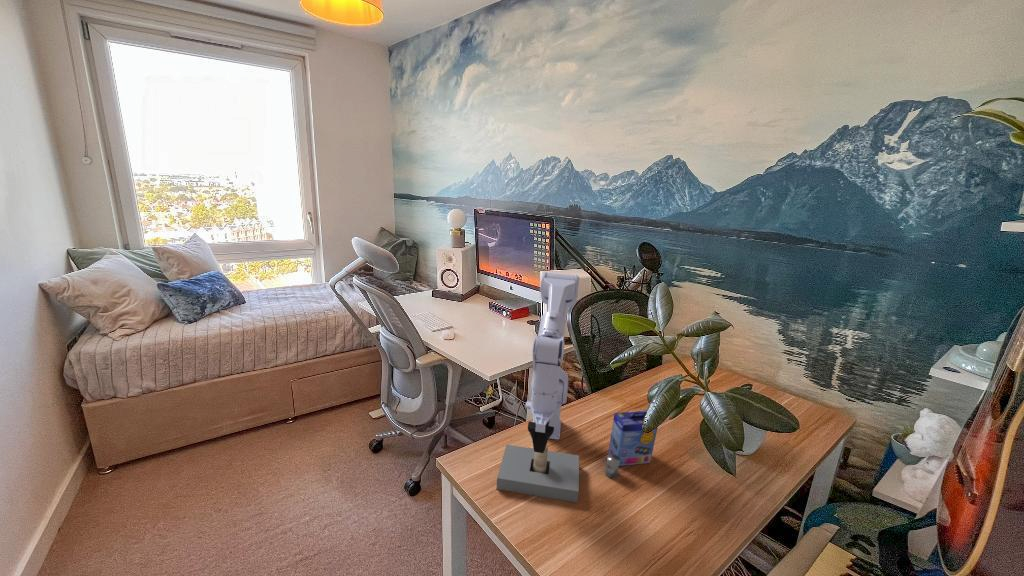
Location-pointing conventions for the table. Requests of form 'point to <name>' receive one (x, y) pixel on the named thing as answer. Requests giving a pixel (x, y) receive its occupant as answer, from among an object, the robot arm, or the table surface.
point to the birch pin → (540, 461)
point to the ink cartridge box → (631, 438)
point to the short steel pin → (612, 466)
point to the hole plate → (539, 474)
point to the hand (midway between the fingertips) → (540, 440)
